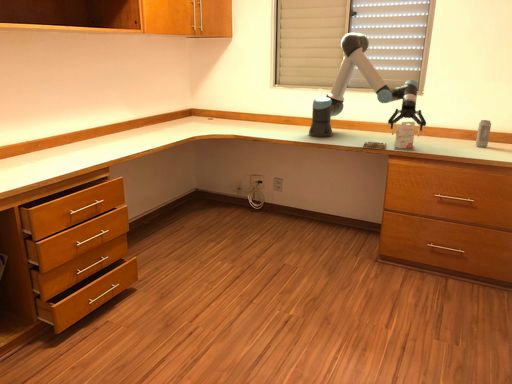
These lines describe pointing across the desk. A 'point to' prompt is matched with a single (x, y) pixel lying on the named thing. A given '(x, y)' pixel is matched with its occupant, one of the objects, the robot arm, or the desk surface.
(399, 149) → the mat
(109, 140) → the desk surface
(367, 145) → the holder
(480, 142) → the grey tall block
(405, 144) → the ink cartridge box
